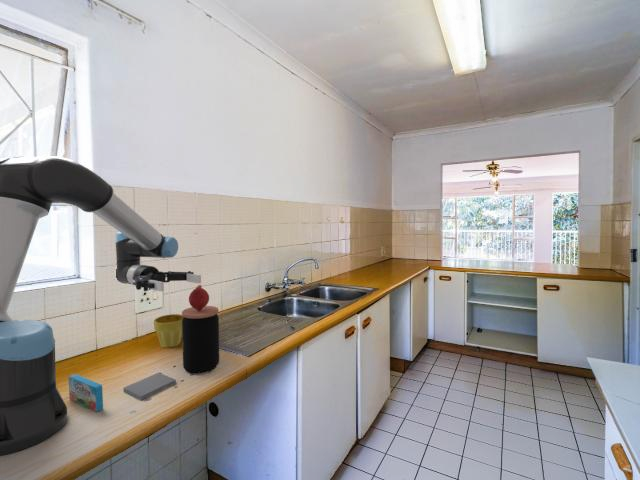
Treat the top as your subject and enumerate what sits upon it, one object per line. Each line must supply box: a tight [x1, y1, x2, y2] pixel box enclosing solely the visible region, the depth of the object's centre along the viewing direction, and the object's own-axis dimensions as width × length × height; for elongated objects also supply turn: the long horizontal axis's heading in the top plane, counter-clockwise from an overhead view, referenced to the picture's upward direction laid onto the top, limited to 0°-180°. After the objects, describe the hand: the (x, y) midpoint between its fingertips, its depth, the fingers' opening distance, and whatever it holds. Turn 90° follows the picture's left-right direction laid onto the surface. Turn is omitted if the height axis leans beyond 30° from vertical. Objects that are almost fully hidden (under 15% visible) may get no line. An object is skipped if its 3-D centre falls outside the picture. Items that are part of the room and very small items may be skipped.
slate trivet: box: [123, 372, 177, 401], centre depth 88 cm, size 10×8×1 cm
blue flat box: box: [68, 373, 104, 413], centre depth 80 cm, size 12×2×6 cm, turn 63°
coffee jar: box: [181, 305, 220, 375], centre depth 100 cm, size 11×11×18 cm
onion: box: [188, 284, 210, 311], centre depth 99 cm, size 6×6×8 cm
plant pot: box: [153, 313, 184, 349], centre depth 118 cm, size 10×10×10 cm
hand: (182, 282), depth 103 cm, fingers open, 13 cm apart
